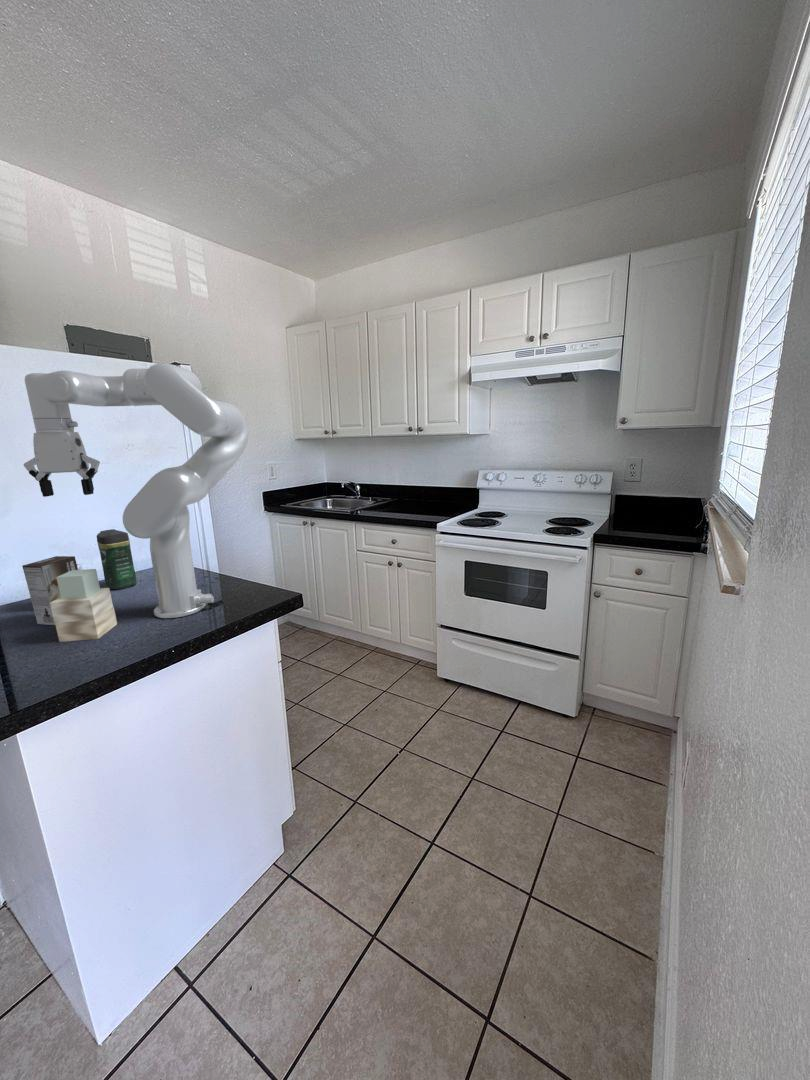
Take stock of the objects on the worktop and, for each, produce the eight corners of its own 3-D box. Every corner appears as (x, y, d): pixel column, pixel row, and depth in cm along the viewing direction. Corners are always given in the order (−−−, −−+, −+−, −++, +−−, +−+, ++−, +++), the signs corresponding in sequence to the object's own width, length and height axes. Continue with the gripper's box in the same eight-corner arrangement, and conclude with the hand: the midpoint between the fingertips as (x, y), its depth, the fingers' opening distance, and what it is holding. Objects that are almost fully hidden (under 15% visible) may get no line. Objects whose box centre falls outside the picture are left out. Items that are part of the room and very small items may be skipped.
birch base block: (117, 624, 110) (113, 606, 109) (98, 639, 101) (94, 619, 100) (81, 627, 109) (77, 608, 108) (59, 642, 101) (54, 622, 99)
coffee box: (69, 610, 120) (57, 555, 116) (88, 611, 118) (76, 555, 115) (36, 624, 111) (21, 565, 107) (56, 626, 110) (41, 565, 106)
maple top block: (112, 606, 109) (109, 587, 107) (94, 619, 100) (90, 599, 99) (76, 609, 107) (72, 590, 106) (54, 623, 99) (49, 602, 98)
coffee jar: (141, 585, 140) (131, 529, 136) (113, 592, 134) (102, 534, 130) (129, 579, 146) (119, 526, 142) (103, 586, 140) (91, 530, 136)
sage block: (100, 590, 106) (95, 568, 104) (86, 598, 100) (82, 575, 99) (76, 591, 105) (71, 570, 104) (61, 599, 100) (56, 577, 99)
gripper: (100, 426, 111) (112, 492, 115) (27, 428, 109) (42, 494, 113) (82, 425, 104) (96, 495, 108) (4, 427, 102) (21, 498, 106)
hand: (68, 495), depth 111 cm, fingers open, 9 cm apart
